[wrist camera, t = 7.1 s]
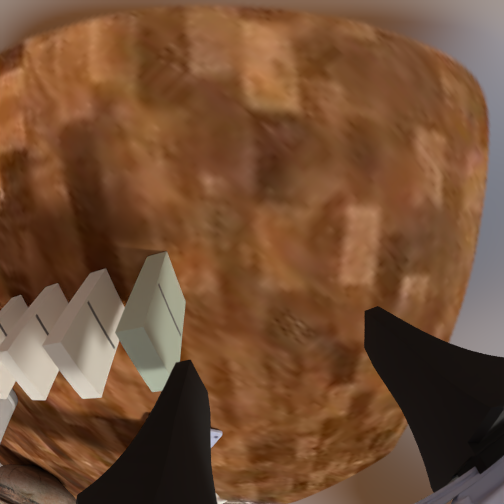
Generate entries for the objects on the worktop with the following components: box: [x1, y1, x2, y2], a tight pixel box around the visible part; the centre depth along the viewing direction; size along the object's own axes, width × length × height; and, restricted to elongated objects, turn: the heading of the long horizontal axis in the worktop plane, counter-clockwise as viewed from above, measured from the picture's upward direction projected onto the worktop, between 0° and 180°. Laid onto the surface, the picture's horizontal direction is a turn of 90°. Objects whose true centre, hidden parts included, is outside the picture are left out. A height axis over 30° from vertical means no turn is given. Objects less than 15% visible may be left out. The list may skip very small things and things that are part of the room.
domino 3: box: [42, 268, 125, 399], centre depth 15 cm, size 1×4×8 cm, turn 13°
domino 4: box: [115, 251, 186, 392], centre depth 16 cm, size 1×4×8 cm, turn 12°
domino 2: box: [0, 283, 69, 400], centre depth 15 cm, size 1×4×8 cm, turn 13°
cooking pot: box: [0, 464, 76, 504], centre depth 26 cm, size 25×19×12 cm
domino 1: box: [0, 295, 28, 399], centre depth 15 cm, size 1×4×8 cm, turn 13°
